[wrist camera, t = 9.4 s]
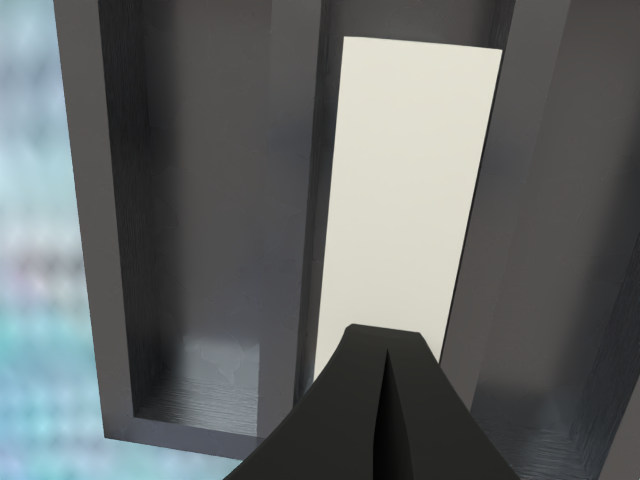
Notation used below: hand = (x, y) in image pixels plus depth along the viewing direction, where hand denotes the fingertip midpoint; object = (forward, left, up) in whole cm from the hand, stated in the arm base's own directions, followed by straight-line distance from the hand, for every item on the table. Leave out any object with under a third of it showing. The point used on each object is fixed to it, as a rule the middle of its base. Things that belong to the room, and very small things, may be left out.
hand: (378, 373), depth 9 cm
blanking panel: (0, 0, -8) cm, 8 cm away
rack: (0, 0, -9) cm, 9 cm away
